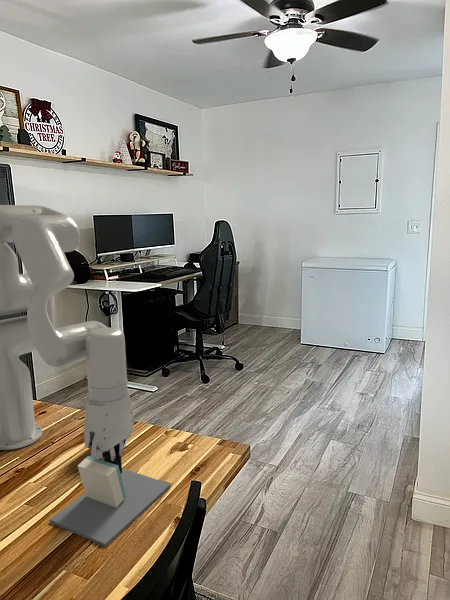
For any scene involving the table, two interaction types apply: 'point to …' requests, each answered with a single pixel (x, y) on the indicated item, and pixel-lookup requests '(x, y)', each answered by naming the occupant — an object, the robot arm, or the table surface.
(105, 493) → the cream and teal block
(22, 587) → the table surface
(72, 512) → the mat
